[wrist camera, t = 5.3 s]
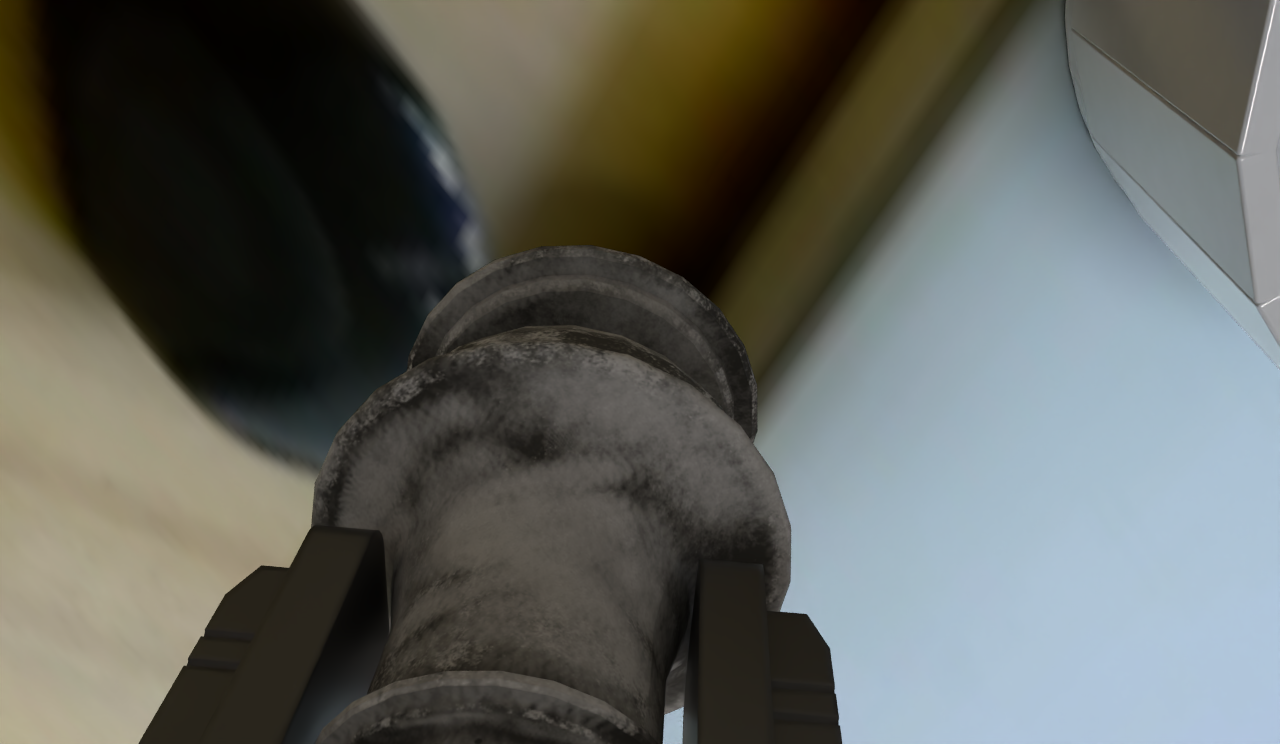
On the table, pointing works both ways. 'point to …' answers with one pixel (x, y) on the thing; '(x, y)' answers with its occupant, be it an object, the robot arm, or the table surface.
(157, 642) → the table surface
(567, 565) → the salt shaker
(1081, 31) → the silver cup
